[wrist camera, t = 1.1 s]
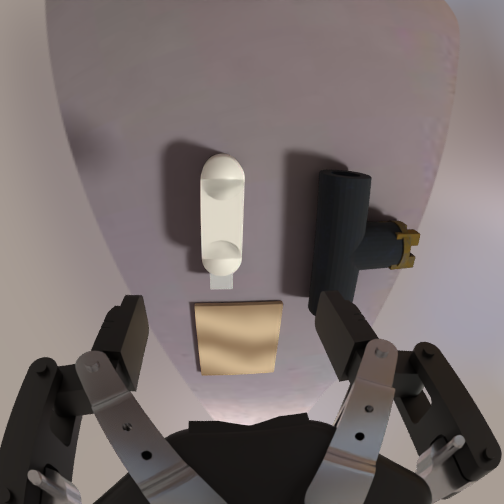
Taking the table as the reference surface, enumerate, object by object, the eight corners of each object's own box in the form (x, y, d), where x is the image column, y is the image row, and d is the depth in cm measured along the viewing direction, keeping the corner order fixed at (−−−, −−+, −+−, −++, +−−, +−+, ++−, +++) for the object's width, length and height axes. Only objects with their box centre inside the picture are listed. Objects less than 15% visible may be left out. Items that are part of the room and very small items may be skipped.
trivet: (194, 303, 31) (194, 306, 30) (281, 300, 32) (283, 303, 32) (201, 372, 36) (201, 375, 35) (272, 369, 37) (273, 372, 36)
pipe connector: (432, 185, 23) (403, 310, 29) (403, 174, 28) (384, 287, 34) (331, 178, 22) (315, 324, 28) (312, 168, 26) (303, 296, 33)
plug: (202, 153, 24) (200, 157, 21) (240, 153, 25) (245, 157, 21) (204, 276, 30) (203, 297, 26) (237, 276, 30) (240, 297, 26)
